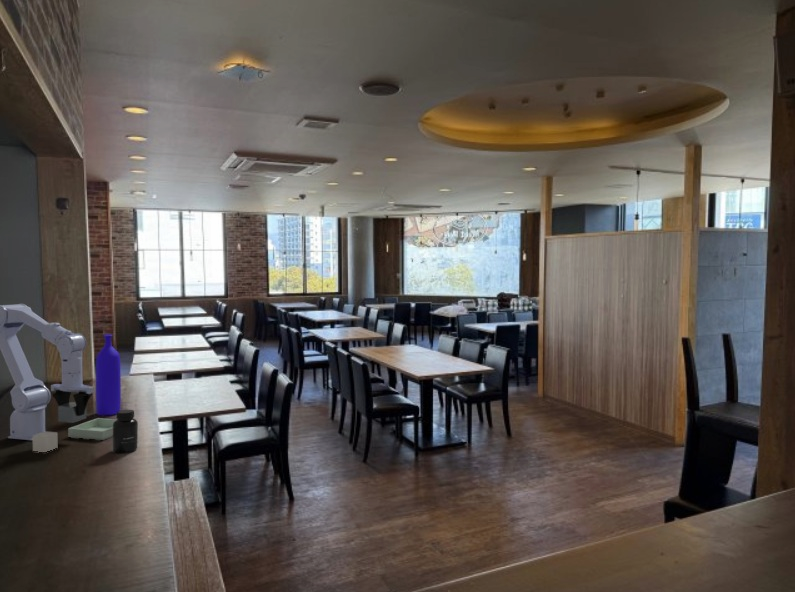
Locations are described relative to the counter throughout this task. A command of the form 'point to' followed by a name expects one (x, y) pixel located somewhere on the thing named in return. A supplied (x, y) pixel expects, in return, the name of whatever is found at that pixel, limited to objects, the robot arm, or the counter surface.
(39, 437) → the carton
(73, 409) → the grey square block
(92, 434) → the tray
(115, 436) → the supplement bottle
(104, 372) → the bottle
